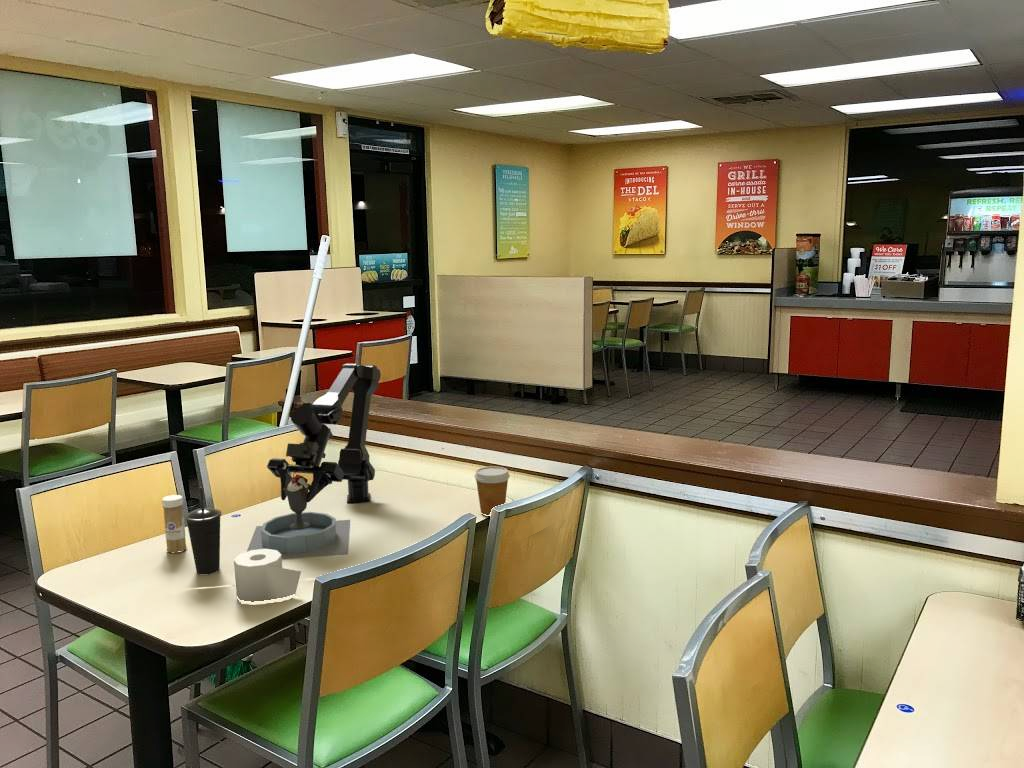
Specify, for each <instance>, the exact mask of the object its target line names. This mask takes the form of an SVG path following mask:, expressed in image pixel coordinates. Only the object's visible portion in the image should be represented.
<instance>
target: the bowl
mask: <svg viewBox="0 0 1024 768" xmlns="http://www.w3.org/2000/svg"><path fill="white" fill-rule="evenodd" d="M301 518H302V521H303V522H307V523H309V524H310V526H309V527H307V528H305V529H300V530H293V529H291V528H289V526H290V525H291V524H293V523H295V522H296V519H297V515H296V513H295V512H293V513H287V514H284V515H280V516H275V517H273V518H271V519H269V520H267V521H266V522H264V523H263V524H262V525H261V526H262V529H261V537H262V546H263V547H264V548H266V549H272V550H277V551H278V552H279V553H285V554H291V553H304V552H310V551H313V550H317V549H320V548H324V547H326V546H328V545H329V544H331V543H332V542H334V541H335V540H336V521H337V519H336V518H335V517H333V516H332V515H330V514H328V513H325V512H324V513H323V512H316V511H315V512H314V511H303V512H302V513H301Z"/></svg>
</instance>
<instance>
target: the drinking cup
mask: <svg viewBox="0 0 1024 768" xmlns="http://www.w3.org/2000/svg"><path fill="white" fill-rule="evenodd" d="M198 488H199V500H200V502H199V503H200V508H197V509H194V510H192V511H191V512H188V513H187V514H185V515H184V521H186V524H187V530H188V535H189V539H190V544H191V550H192V555H193V561H194V566H195V570H196V571H195V572H196V574H197V573H199V574H198V575H200V574H208V575H212V574H211V573H213V574H215V573H217V572H219V571H218V570H220V568H221V567H220V566H221V565H220V563H221V561H220V559H221V554H220V553H221V516H222V511H221V510H220V509H217V508H212V507H205V499H204V490H203V489H204V488H203V486H199V487H198ZM216 571H217V572H216ZM214 572H215V573H214Z"/></svg>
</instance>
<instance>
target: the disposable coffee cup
mask: <svg viewBox="0 0 1024 768" xmlns="http://www.w3.org/2000/svg"><path fill="white" fill-rule="evenodd" d="M510 475H511V474H510V473H509V471H508V468H505V467H501V466H490V465H489V466H483V467H480V468H477V469H476V470H475V474H474V476H473V477H474V479H475V481H476V488H477V494H478V495H477V496H478V501H479V507H480V514H481V513H483V514H486V515H489V514H490V512H491V509H492V508H493V507H495V506H498V505H501V504H504V503H505V504H506V500H507V492H508V491H507V490H508V482H509V478H510V477H511V476H510Z"/></svg>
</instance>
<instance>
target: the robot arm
mask: <svg viewBox="0 0 1024 768" xmlns="http://www.w3.org/2000/svg"><path fill="white" fill-rule="evenodd" d="M381 376H382V374H381V371H380V369H379V368H378V367H377V365H375V364H374V365H372V364H370V365H369V364H359V363H345V364H343V365H342V366H341V371H340V372H339V373H338V375H337V377H336V378H335V379H334V381H333V383H332V385H331V386H330V388H329V389H328V391H327V392H326V394H324V395H322V396H319V397H318V398H316V400H315V401H314V402H313V403H311V402H302V405H301V406H298V407H296V408H295V409H294V410H293V411H292V412H291V414H290V420H291V422H292V423H293V425H294V426H295V427H296V429H297V430H298V431H299V432H300V434H302V436H304V439H303V442H299V443H290V442H289V443H287V447H286V452H285V453H286V454H285V457H290V458H291V461H292V462H293V463H295V464H290V463H289V462H288V461H287V459H285V458H277V457H276V458H275V457H274V458H271V459H269V461H268V463H267V465H266V468H267V469H268V470H269V471H270V472H271V473H272V475H274V477H276V478H279V479H280V498H281V500H282V501H285V500H286V499H287V498H288V497H287V493H286V491H285V490H283V488H284V487H286V486H287V485H289V483H290V481H291V480H292V478H293V473H294V474H295V473H296V474H307V475H308V474H311V475H312V481H311V483H310V485H311V486H310V489H309V490H308V495H307V499H306V501H307V503H310V502H311V501H312V500H313V499H315V497H316V496H317V495H318V494H319V493H320V492H321V491H323V489H324V488H326V487H327V486H328V485H332V483H334V482H335V483H336V482H337V483H341V482H343V480H345V481H346V480H347V491H348V492H347V495H346V496H347V497H346V503H348V504H349V503H364V502H365V503H366V502H368V503H369V502H370V501H371V492H369V481H373V480H374V478H375V475H376V469H375V468H374V467H373V464H372V463H371V462H370V454H369V452H368V449H367V448H366V441H367V440H366V439H367V432H368V431H367V430H368V424H369V416H370V415H369V414H370V407H371V399H372V396H373V394H375V392H376V390H377V389H378V387H379V382H380V380H381ZM351 391H352V392H353V399H352V400H353V401H352V409H351V417H350V424H349V431H348V432H349V433H348V439H347V440H348V441H347V444H346V446H345V447H344V448H340V450H339V458H338V461H337V462H336V461H335V462H334V461H322V459H326V456H327V455H326V453H325V450H326V448H327V444H328V442H329V439H330V440H333V438H334V435H333V433H332V431H331V428H329V427H328V425H337V424H338V423H340V420H341V418H342V416H343V413H344V410H343V404H344V402H345V401H346V399H347V397H348V396H349V394H350V392H351ZM294 470H295V472H293V471H294Z"/></svg>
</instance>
